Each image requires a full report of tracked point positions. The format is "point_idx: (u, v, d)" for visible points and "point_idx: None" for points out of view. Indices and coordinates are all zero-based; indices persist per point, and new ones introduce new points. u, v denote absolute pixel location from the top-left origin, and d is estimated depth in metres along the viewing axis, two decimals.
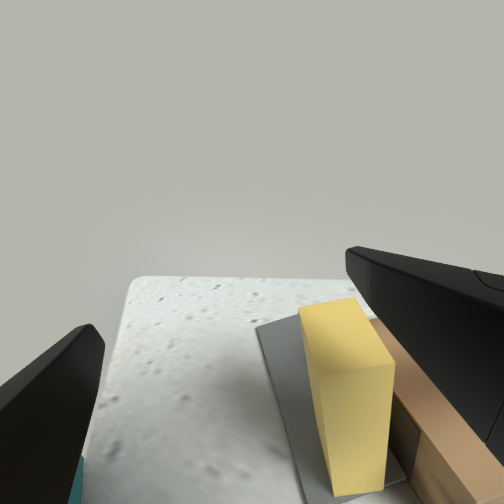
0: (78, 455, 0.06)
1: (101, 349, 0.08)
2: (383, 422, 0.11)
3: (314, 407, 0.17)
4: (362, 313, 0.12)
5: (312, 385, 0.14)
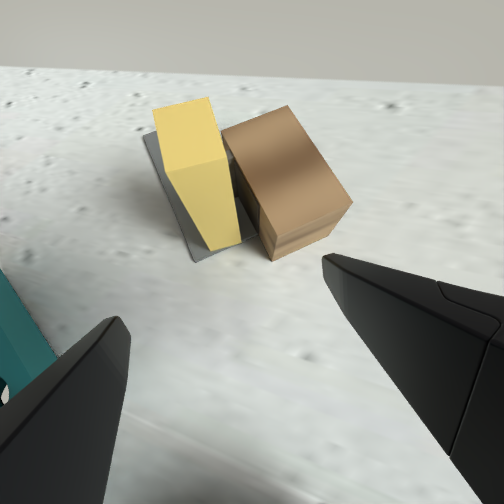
0: (112, 444, 0.06)
1: (128, 341, 0.08)
2: (230, 201, 0.16)
3: None
4: (212, 114, 0.13)
5: None
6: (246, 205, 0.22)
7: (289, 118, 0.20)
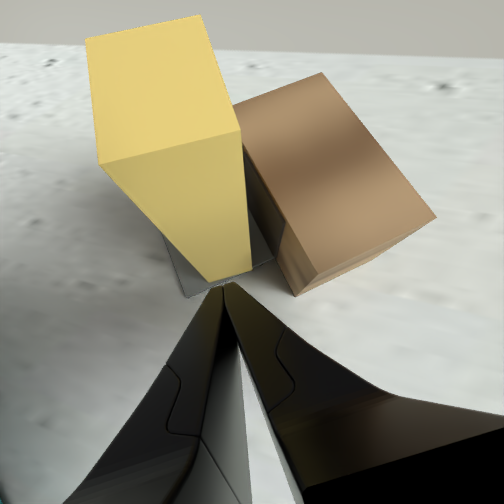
0: (243, 402, 0.07)
1: None
2: (240, 219, 0.09)
3: None
4: (207, 45, 0.06)
5: None
6: (259, 218, 0.16)
7: (325, 91, 0.13)
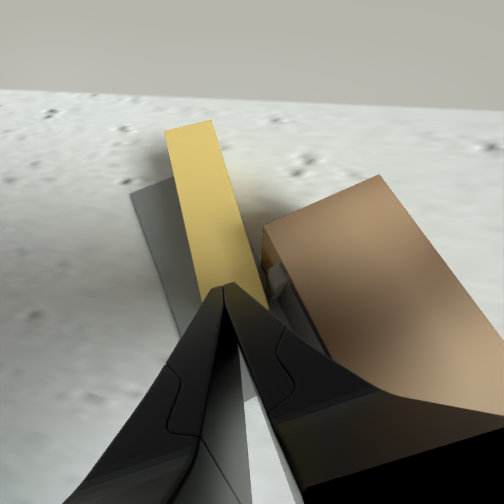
0: (243, 402, 0.07)
1: None
2: (223, 175, 0.14)
3: None
4: None
5: None
6: (298, 332, 0.13)
7: (385, 201, 0.11)
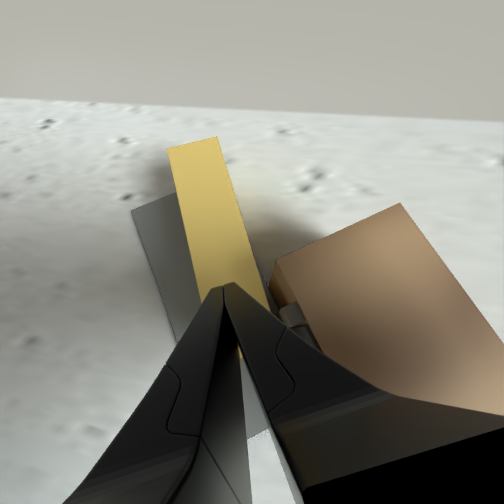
0: (243, 402, 0.07)
1: None
2: (230, 197, 0.13)
3: None
4: None
5: None
6: None
7: (407, 233, 0.10)
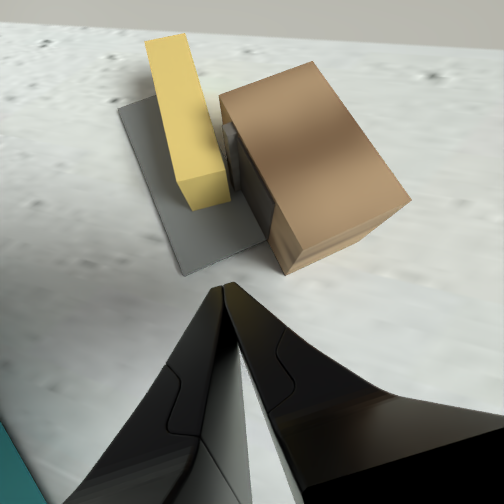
0: (243, 402, 0.07)
1: None
2: (193, 75, 0.17)
3: None
4: None
5: None
6: (252, 201, 0.17)
7: (315, 80, 0.14)
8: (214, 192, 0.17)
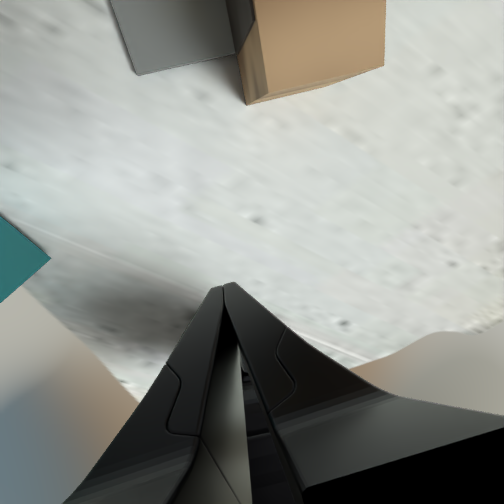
0: (243, 402, 0.07)
1: None
2: None
3: None
4: None
5: None
6: None
7: None
8: None
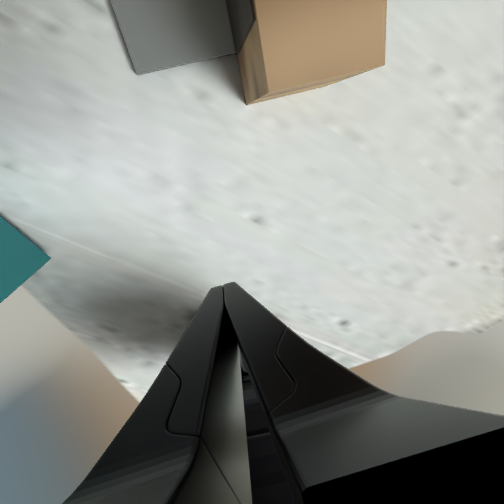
0: (243, 402, 0.07)
1: None
2: None
3: None
4: None
5: None
6: None
7: None
8: None
